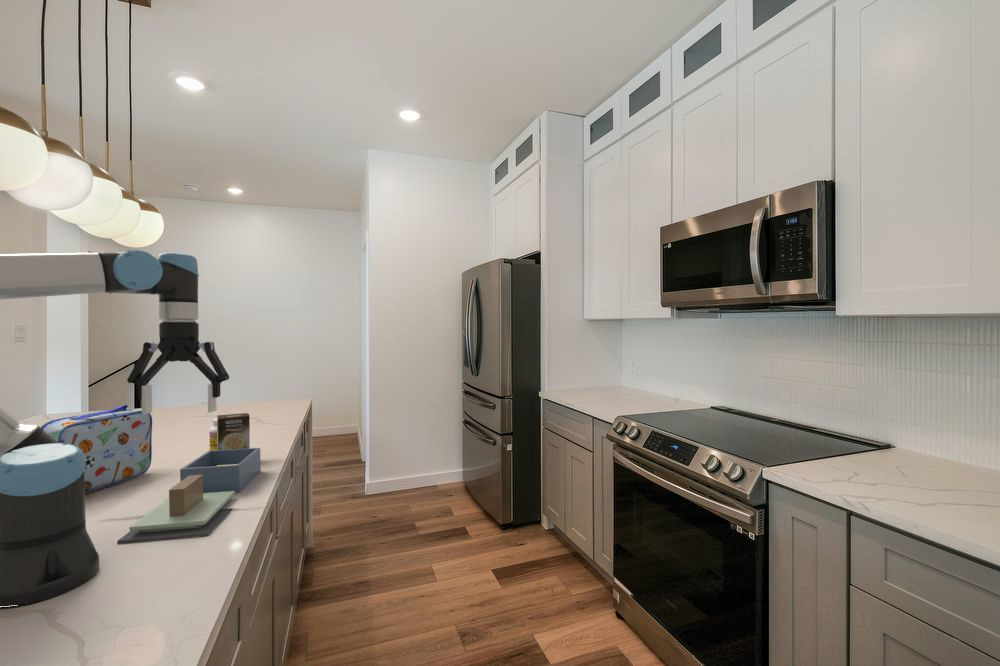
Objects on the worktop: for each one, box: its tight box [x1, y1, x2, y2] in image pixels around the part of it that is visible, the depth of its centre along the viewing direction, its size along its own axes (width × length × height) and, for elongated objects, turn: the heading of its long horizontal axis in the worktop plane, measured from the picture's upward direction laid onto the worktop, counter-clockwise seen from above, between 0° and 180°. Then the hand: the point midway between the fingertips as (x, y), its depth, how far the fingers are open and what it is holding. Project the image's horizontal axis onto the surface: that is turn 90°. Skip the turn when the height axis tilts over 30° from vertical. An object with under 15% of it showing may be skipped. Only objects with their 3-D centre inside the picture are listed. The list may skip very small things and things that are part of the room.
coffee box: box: [216, 412, 251, 450], centre depth 149 cm, size 9×6×16 cm
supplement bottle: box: [208, 418, 217, 450], centre depth 160 cm, size 7×7×13 cm
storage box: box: [179, 447, 261, 494], centre depth 130 cm, size 18×14×8 cm
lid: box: [129, 475, 236, 533], centre depth 108 cm, size 18×14×8 cm
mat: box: [116, 507, 234, 545], centre depth 108 cm, size 22×17×1 cm
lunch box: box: [39, 404, 153, 494], centre depth 131 cm, size 28×10×22 cm, turn 168°
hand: (180, 412), depth 107 cm, fingers open, 13 cm apart
